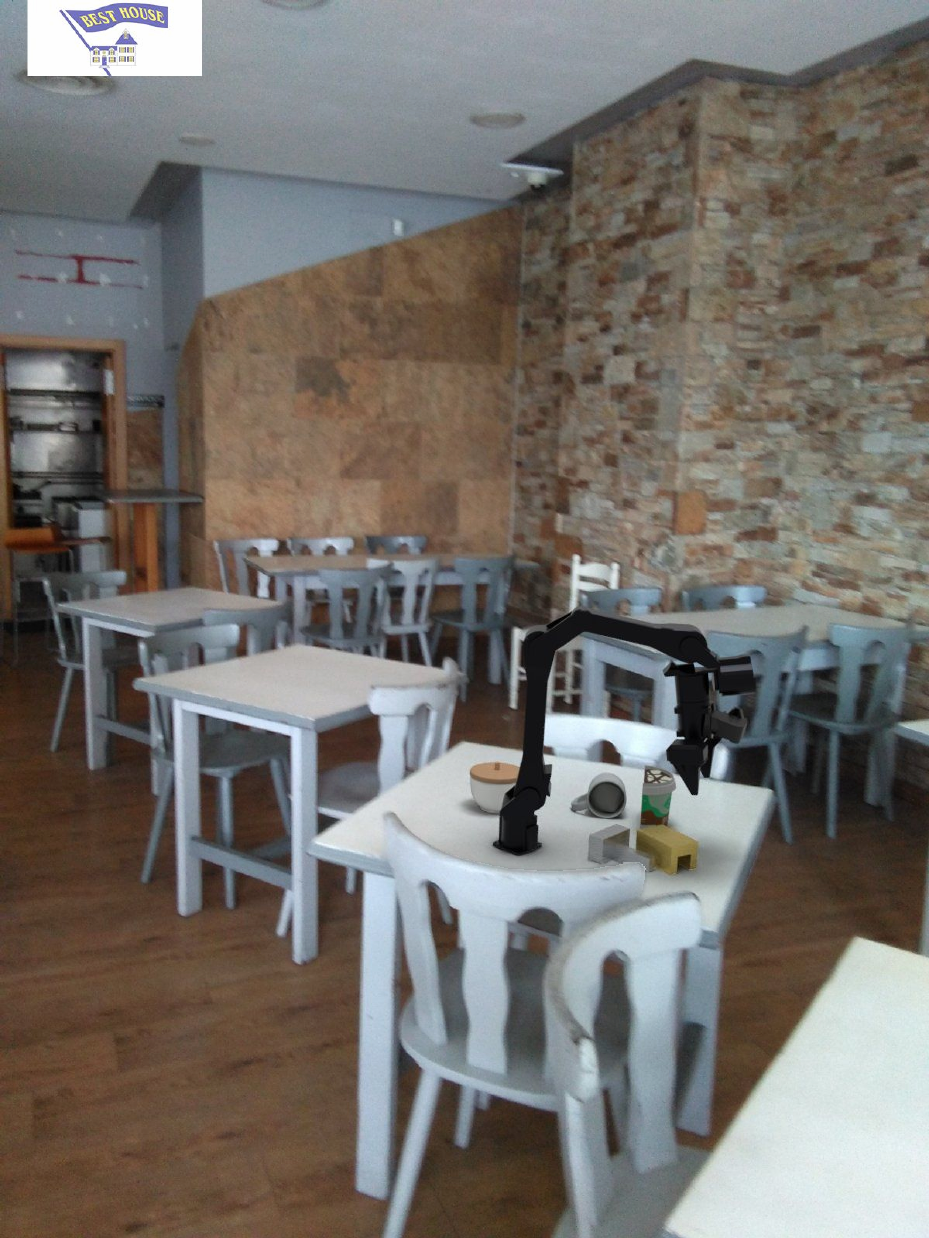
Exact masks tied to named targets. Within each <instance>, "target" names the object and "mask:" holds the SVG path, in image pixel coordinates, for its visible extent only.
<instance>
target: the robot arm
mask: <svg viewBox="0 0 929 1238" xmlns="http://www.w3.org/2000/svg"><path fill="white" fill-rule="evenodd" d="M583 633H589V634H593V635H598V636H602V637H607V638H611V639H615V640H620V641H622V642H628V643H632V644H637V645H640V646H645V647H649V648H652V649H654V650H656V651H658V652H660V653H662V654H663V655H666V656H668V657H670V658H673V659H674V660H677V661H680V662H683V663H679V664H678V663H676V662H675V661H674V660H673V659H671V660H669V662H668V664H667V665H666V666H665V667H664V668H663V669H662V673H663V676H664V677H665V678H669V677H671V678H672V677H674V687H675V695H676V696H675V698H676V700H675V701H676V705H675V707H673V710H674V711H673V712H674V715H677V722H678V729H676V731H675V733H676V734H675V735H676V736H675V737H676V738H675V739H674V740H673V741H672V742H671V743H670V745H669V746H668V747H667V748H666V749H665V757H666V761H667V762H669V763H670V765H673V767H674V769H675V770H676V772H677V773H678V775H679V777H680V778H681V780H682V781H683V783H684V785H685V787H686V789H687V790H688V792H689V793H690V795H692V796H698V795H699V790H700V779H701V776H702V777H703V778H704V779H710V777H711V774H712V773H711V772H712V767H713V760H714V754H715V750H716V746H717V745H718V744H720V742H721V741H722V740H723V739H724V740H726V741H728V742H730V743H732V744H736V745H737V744H740V742H741V740H743V738H744V735H745V731H746V729H747V726H748V720H747V717H745V716H744V711H743V709H742V708H741V707H737V706H733V707H732V708H731V709H730V710H729V711H728V712H727V711H726V710H724V711H721V710H717V706H716V702H714V700H711V689H710V678H709V677H710V676H709V674H711V684H712V689H713V692H718V693H719V694H720V697H721V698H722V697H723V698H724V697H735V696H743V695H744V696H745V695H746V696H747V695H754V694H756V690H757V689H756V687H757V684H756V675H754V668H753V665H752V657H751V655H750V654H749V653H745V654H744V653H743V654H739V655H734V656H722V657H718V656H717V655H716V653H715V651H713V650H711V649H710V648H709V646H708V641H707V639H706V637H705V635H704V634H703V633H702V631H701V630H700V628H699V627H698V626H695V625H693V624H689V623H673V622H672V623H671V622H670V623H669V622H668V623H655V622H649V621H644V620H640V619H637V618H631V617H627V616H623V615H618V614H615V613H611V612H606V611H601V610H598V609H593V608H589V607H588V606H586V605H578V606H576V607H574V608H573V610H571V611H569V612H567V613H565V614H563V615H562V616H560V617H558V618H556V619H554V620H551V622H549V623H547V624H545V625H542V624H539V625H534V626H532V627H530V628H529V629H528V630H527V632H526V633H525V635H524V638H523V642H522V646H521V648H522V649H521V650H522V656H523V657H522V658H523V667H524V673H525V677H526V678H525V679H526V692H525V695H526V696H525V708H524V710H525V711H524V725H523V739H522V740H523V741H522V742H523V743H522V755H521V759H520V760H521V761H520V764H519V767H520V768H519V772H518V776H517V780H516V785H514V786H513V787H512V788H511V789H510V790H508V791H507V792H506V793H505V794H504V798H503V803H502V807H501V810H500V813H499V822H498V840H496V841H492V846H494V847H496V848H498V849H501V850H504V851H506V852H509V853H511V854H514V855H517V856H521V855H524V854H526V853H527V854H528V853H529V852H531V851H532V852H533V851H534V850H536V849H539V848H542V845H543V844H542V843H541V842H539V828H540V827H539V824H538V815H537V814H535V813H536V812H537V811H538V810H540V809H541V808H543V807H544V805H545V804H546V802H547V798H550V797H551V795H552V794H551V793H552V782H551V779H552V772H553V764H552V763H549V764H546V763H545V755H544V751H545V750H544V748H545V745H544V744H545V733H546V731H545V729H546V717H547V716H546V714H547V704H548V703H547V702H548V701H547V699H548V686H549V679H550V675H551V671H552V669H553V663H554V660H555V655H556V651H558V650H559V649H561V648H563V647H564V646H565V645H567V644H569V643H570V642H571V641H572V640H574V639H575V638H577V637H578V636H580V635H581V634H583ZM695 664H699V665H700V666H695Z"/></svg>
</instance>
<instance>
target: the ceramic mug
mask: <svg viewBox="0 0 929 1238" xmlns="http://www.w3.org/2000/svg"><path fill="white" fill-rule="evenodd" d="M570 805H571V807H572V810H573V811H575V812H581V811H585V810H590V812H591V813H592V814H594V815H595V816H596V817H598V818H601V819H608V820H609V819H614V818H616V817H617V816H619V815H620V814H622V812H623V811H624V810H625V807H626V805H627V790H626V786H625V783H624V781H623V780H622V778H620V777H619V776H618V775H616V774H615V773H611V772H603V773H602V772H601V773H598V774H597V775H596V776H594V777H593V778H592V780H591V781H590V782H589V786H588V790H587V792H586V793H585V794H581V795H579V796H577V797H575V798H574V799H573V800H571V803H570Z"/></svg>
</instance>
